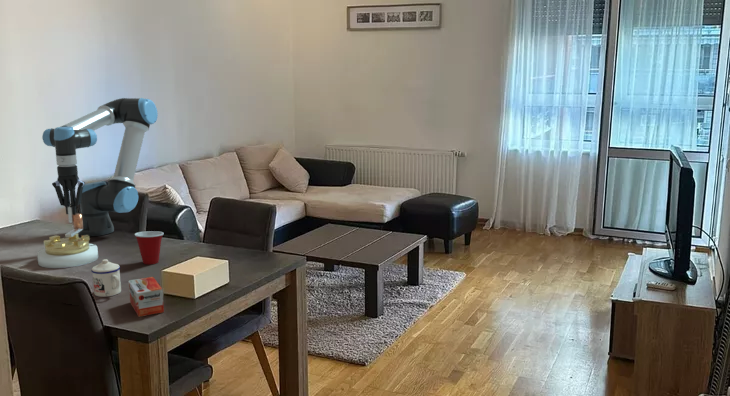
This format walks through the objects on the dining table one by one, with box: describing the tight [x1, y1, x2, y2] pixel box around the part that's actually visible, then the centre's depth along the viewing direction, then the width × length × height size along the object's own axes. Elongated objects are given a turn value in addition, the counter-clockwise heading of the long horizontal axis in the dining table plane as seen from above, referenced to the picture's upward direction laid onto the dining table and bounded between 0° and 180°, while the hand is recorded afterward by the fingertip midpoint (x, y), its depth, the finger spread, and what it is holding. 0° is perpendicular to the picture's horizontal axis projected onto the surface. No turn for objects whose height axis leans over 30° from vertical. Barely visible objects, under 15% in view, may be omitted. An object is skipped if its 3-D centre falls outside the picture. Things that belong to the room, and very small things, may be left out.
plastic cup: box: [134, 230, 164, 265], centre depth 272 cm, size 11×11×12 cm
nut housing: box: [37, 243, 99, 269], centre depth 277 cm, size 22×22×4 cm
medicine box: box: [127, 276, 165, 318], centre depth 223 cm, size 15×8×8 cm, turn 28°
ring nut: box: [43, 212, 91, 255], centre depth 279 cm, size 23×16×11 cm
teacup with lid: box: [90, 258, 122, 298], centre depth 236 cm, size 12×9×12 cm
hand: (72, 222), depth 288 cm, fingers closed
